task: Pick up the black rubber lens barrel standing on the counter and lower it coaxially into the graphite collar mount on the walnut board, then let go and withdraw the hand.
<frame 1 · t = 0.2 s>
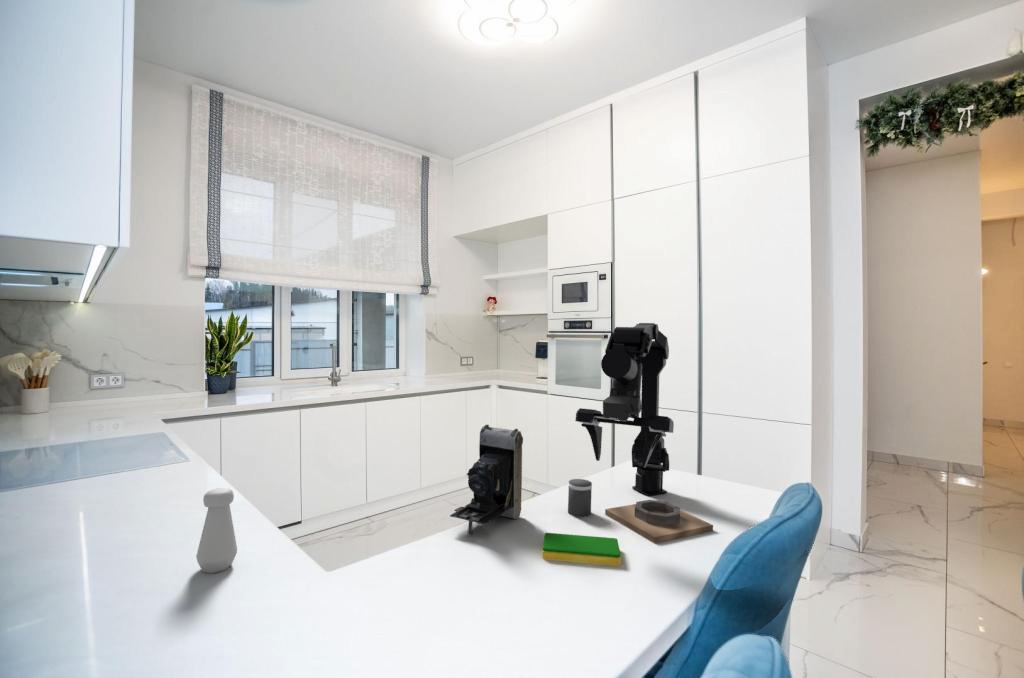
hand: (620, 464, 93), 15 cm above the countertop, fingers open, 9 cm apart
vintage camera: (487, 524, 99), on the countertop
dish sponge: (580, 556, 87), on the countertop
mount: (657, 522, 103), on the countertop
lens: (579, 512, 107), on the countertop
salt shaker: (216, 568, 78), on the countertop
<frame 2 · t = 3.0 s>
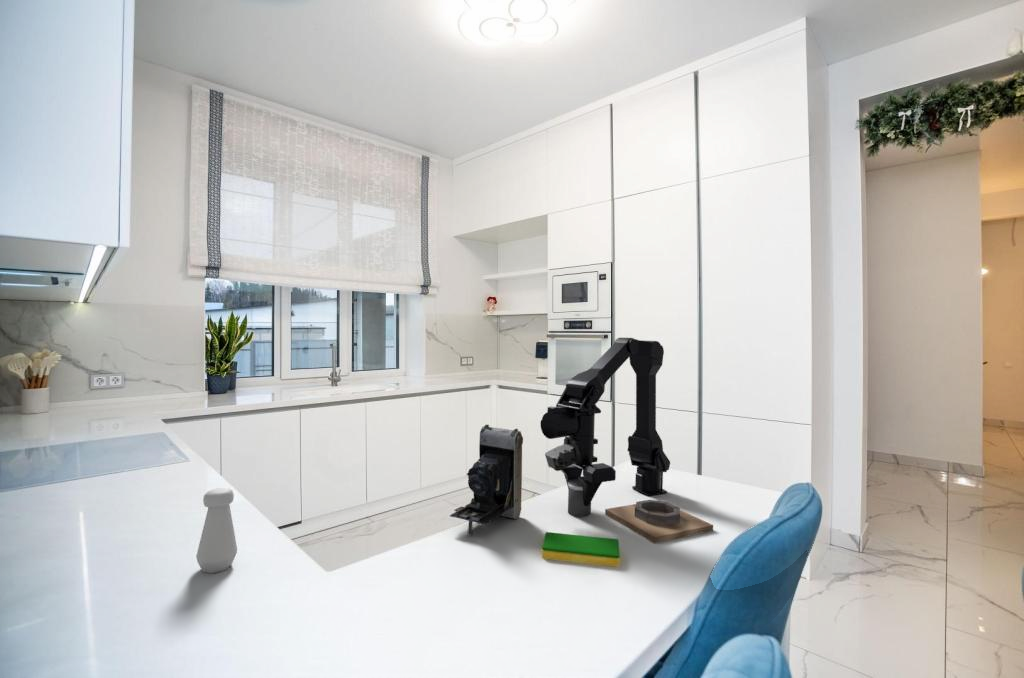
hand: (579, 501, 107), 3 cm above the countertop, fingers closed on lens, 5 cm apart
lens: (579, 512, 107), on the countertop, touching gripper
everything else where it was.
when the fingers open (4 cm above the countertop, at t = 9.3 s): lens stays where it is, resting on mount.
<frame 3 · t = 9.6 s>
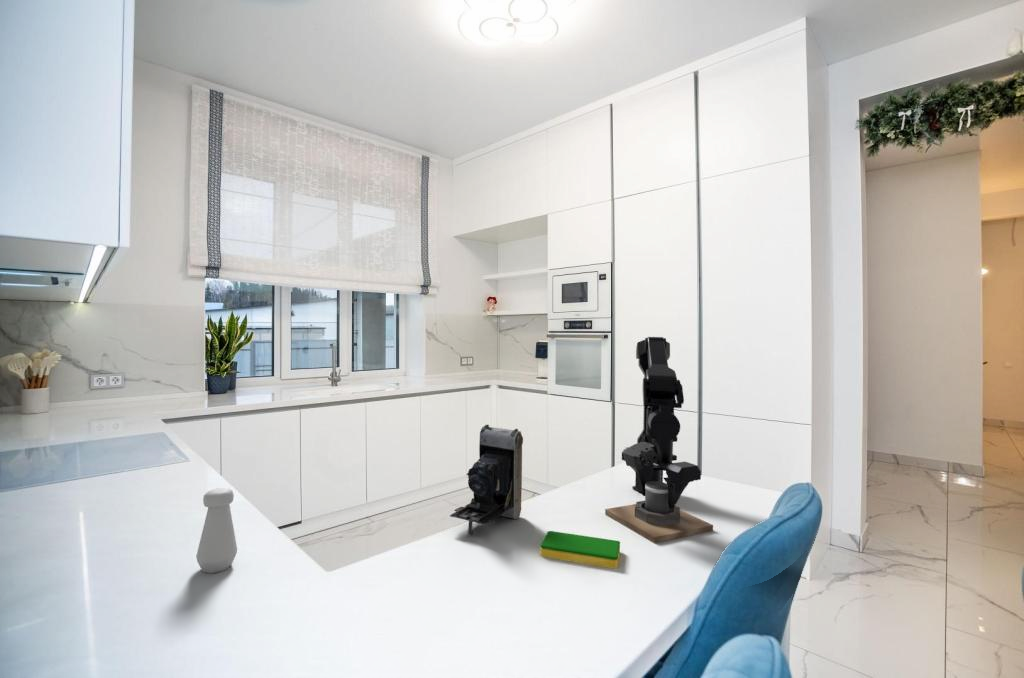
hand: (657, 501, 103), 4 cm above the countertop, fingers open, 8 cm apart
lens: (657, 516, 103), point 1 cm above the countertop, touching mount
everything else where it was.
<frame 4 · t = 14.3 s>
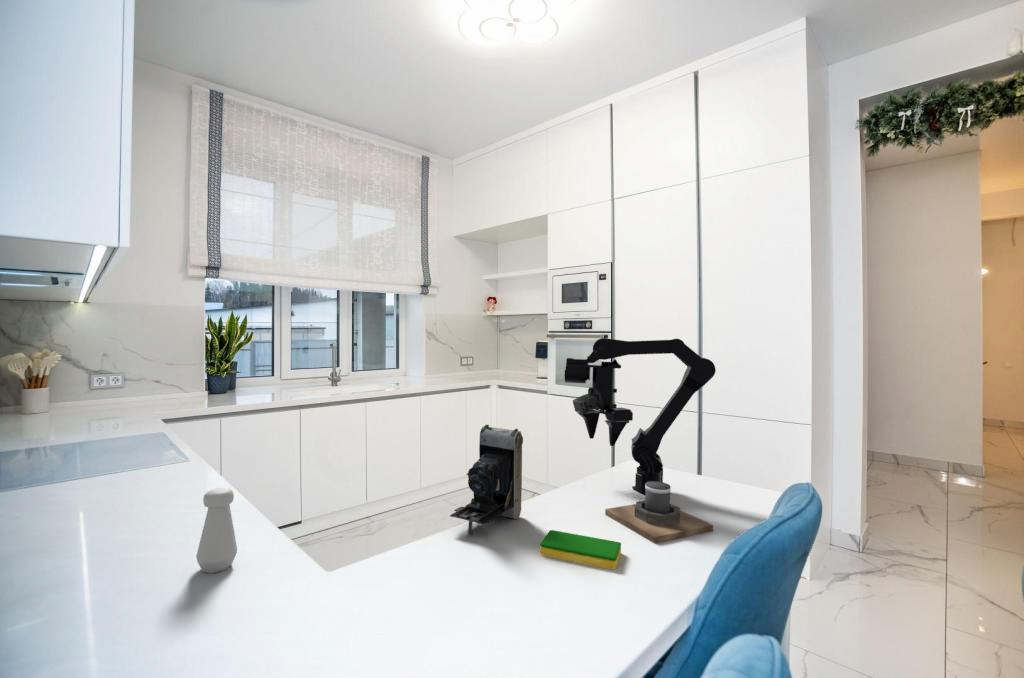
hand: (601, 442, 127), 12 cm above the countertop, fingers open, 9 cm apart
nothing on the countertop moved.
at the end: lens 0.0 cm off-centre on the mount, point 1.2 cm above the mount's base; lens tilted 0°; the gripper is holding nothing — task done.
